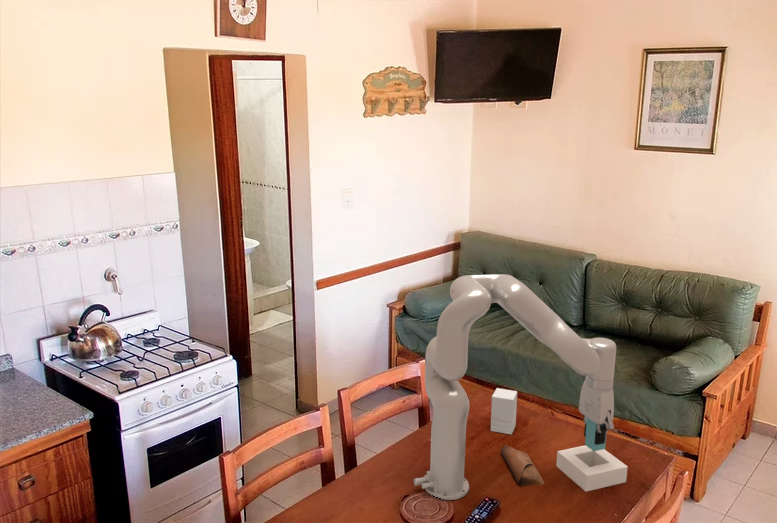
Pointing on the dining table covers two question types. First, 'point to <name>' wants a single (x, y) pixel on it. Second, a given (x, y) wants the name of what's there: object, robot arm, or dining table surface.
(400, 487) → the dining table surface
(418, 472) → the dining table surface
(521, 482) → the sunglasses case
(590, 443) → the teal post
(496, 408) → the supplement box
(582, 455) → the well block
